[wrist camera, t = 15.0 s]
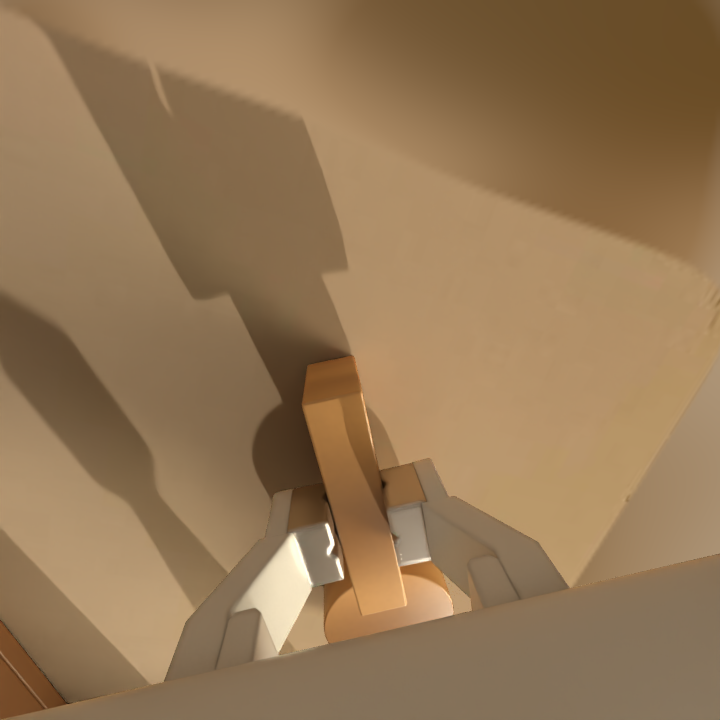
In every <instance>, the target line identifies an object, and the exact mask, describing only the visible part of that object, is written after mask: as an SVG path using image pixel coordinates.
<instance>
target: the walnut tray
mask: <svg viewBox="0 0 720 720" xmlns="http://www.w3.org/2000/svg"><path fill="white" fill-rule="evenodd" d="M62 705H66V702H65V701H64V700H63V698H62V697H61V696H60V695H59V693H58V692H57V691H56V690H55V688H54V687H53V686H52V685H51V683H50V682H49V681H48V680H47V678H46V677H45V676H44V674H43V673H42V672H41V671H40V669H39V668H38V667H37V666H36V664H35V663H34V662H33V661H32V659H31V658H30V657H29V656H28V654H27V653H26V652H25V650H24V649H23V648H22V647H21V645H20V644H19V643H18V642H17V640H16V639H15V638H14V637H13V635H12V634H11V633H10V632H9V630H8V629H7V628H6V626H5V625H4V624H3V623H2V621H1V620H0V720H1V719H6V718H10V717H14V716H19V715H23V714H27V713H32V712H36V711H40V710H45V709H49V708H53V707H58V706H62Z"/></svg>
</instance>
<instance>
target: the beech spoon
mask: <svg viewBox="0 0 720 720" xmlns="http://www.w3.org/2000/svg"><path fill="white" fill-rule="evenodd" d="M302 408H303V412H304V416H305V419H306V423H307V426H308V430H309V433H310V437H311V440H312V444H313V448H314V451H315V455H316V458H317V462H318V465H319V469H320V473H321V476H322V480H323V483H324V487H325V490H326V494H327V497H328V501H329V505H330V508H331V512H332V515H333V519H334V522H335V526H336V529H337V533H338V537H339V540H340V544H341V547H342V554H343V563H344V579H343V580H339V581H335V582H331V583H328V584H324V632H325V637H326V639H327V641H328V643H329V644H330V643H335V642H339V641H343V640H348V639H352V638H356V637H361V636H365V635H369V634H374V633H378V632H382V631H387V630H391V629H395V628H400V627H404V626H408V625H413V624H417V623H421V622H426V621H430V620H434V619H439V618H443V617H447V616H452V615H454V608H453V603H452V600H451V597H450V594H449V591H448V588H447V585H446V582H445V579H444V576H443V574H442V571H441V570H440V569H439V568H438V567H436V566H435V565H434V564H433V563H432V561H426V562H421V563H416V564H410V565H405V566H400V567H399V566H398V562H397V558H396V553H395V549H394V545H393V540H392V536H391V531H390V527H389V522H388V517H387V513H386V508H385V503H384V498H383V494H382V490H383V486H382V481H381V477H380V472H379V467H378V463H377V458H376V453H375V448H374V444H373V439H372V434H371V430H370V425H369V420H368V415H367V411H366V406H365V401H364V397H363V392H362V388H361V383H360V379H359V375H358V370H357V366H356V362H355V358H354V356H347V357H343V358H338V359H334V360H329V361H324V362H320V363H315V364H310V365H308V366H307V372H306V379H305V386H304V393H303V400H302Z"/></svg>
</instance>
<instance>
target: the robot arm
mask: <svg viewBox="0 0 720 720" xmlns="http://www.w3.org/2000/svg"><path fill="white" fill-rule="evenodd" d="M379 472H380V477H381V481H382V486H383V490H382V494H383V498H384V503H385V508H386V513H387V517H388V522H389V527H390V531H391V536H392V540H393V545H394V549H395V553H396V558H397V562H398V566H399V567H400V566H405V565H410V564H416V563H421V562H426V561H432V563H433V564H434V565H435V566H436V567H438V568H439V569H440V570H441V571H442V572H443V573H444V574H445V575H446V576H447V577H448V578H449V579H450V580H451V581H452V582H454V583H455V584H456V585H457V586H458V587H459V588H460V589H461V590H462V591H463V592H464V593H465V594H466V595H467V596H468V597H470V598H471V606H472V611H469V612H465V613H460V614H456V615H452V616H447V617H443V618H439V619H434V620H430V621H426V622H421V623H417V624H413V625H408V626H404V627H400V628H395V629H391V630H387V631H382V632H378V633H374V634H369V635H365V636H361V637H356V638H352V639H348V640H343V641H339V642H335V643H330V644H326V645H322V646H317V647H313V648H309V649H304V650H300V651H296V652H291V653H287V654H283V655H279V654H278V653H279V651H280V649H281V648H282V646H283V644H284V642H285V640H286V638H287V636H288V634H289V632H290V630H291V628H292V627H293V625H294V623H295V621H296V619H297V617H298V615H299V613H300V611H301V609H302V607H303V605H304V604H305V602H306V600H307V598H308V596H309V594H310V592H311V590H312V589H311V588H312V587H316V586H320V585H324V584H328V583H331V582H335V581H339V580H343V579H344V563H343V554H342V550H341V547H340V545H341V544H340V540H339V537H338V533H337V529H336V526H335V522H334V519H333V515H332V512H331V508H330V505H329V501H328V497H327V494H326V490H325V487H324V483H318V484H313V485H308V486H303V487H298V488H294V489H289V490H284V491H279V492H276V493H275V494H274V496H273V500H272V505H271V510H270V515H269V519H268V524H267V529H266V534H265V538H264V539H260V540H258V541H257V543H256V544H255V545H254V546H253V547H252V548H251V549H250V550H249V552H248V553H247V554H246V555H245V556H244V557H243V558H242V559H241V561H240V562H239V563H238V564H237V565H236V566H235V567H234V568H233V569H232V571H231V572H230V573H229V574H228V575H227V576H226V577H225V578H224V580H223V581H222V582H221V583H220V584H219V585H218V586H217V587H216V589H215V590H214V591H213V592H212V593H211V594H210V595H209V596H208V597H207V599H206V600H205V601H204V602H203V603H202V604H201V605H200V606H199V608H198V609H197V610H196V611H195V612H194V613H193V614H192V615H191V616H190V618H189V619H188V620H187V621H186V623H185V626H184V628H183V631H182V634H181V637H180V639H179V642H178V645H177V647H176V650H175V653H174V656H173V658H172V661H171V664H170V667H169V669H168V672H167V675H166V677H165V680H164V682H162V683H157V684H153V685H149V686H144V687H140V688H136V689H131V690H127V691H123V692H118V693H114V694H110V695H105V696H101V697H97V698H92V699H88V700H84V701H79V702H75V703H71V704H66V705H62V706H58V707H53V708H49V709H45V710H40V711H36V712H32V713H27V714H23V715H19V716H14V717H10V718H6V719H1V720H720V554H716V555H712V556H707V557H703V558H699V559H694V560H690V561H686V562H681V563H677V564H673V565H669V566H664V567H660V568H656V569H651V570H647V571H642V572H638V573H634V574H629V575H625V576H621V577H617V578H612V579H608V580H604V581H599V582H595V583H590V584H586V585H582V586H578V587H573V588H569V586H568V585H567V583H566V582H565V581H564V579H563V578H562V576H561V575H560V573H559V572H558V570H557V569H556V567H555V566H554V565H553V563H552V562H551V560H550V559H549V557H548V556H547V554H546V553H545V552H544V550H543V549H542V547H541V546H540V544H539V543H538V542H537V541H535V540H533V539H532V538H530V537H528V536H526V535H524V534H523V533H521V532H519V531H517V530H515V529H513V528H512V527H510V526H508V525H506V524H504V523H503V522H501V521H499V520H497V519H495V518H494V517H492V516H490V515H488V514H486V513H485V512H483V511H481V510H479V509H477V508H476V507H474V506H472V505H470V504H468V503H467V502H465V501H463V500H461V499H459V498H457V497H456V496H451V497H449V496H448V494H447V491H446V489H445V487H444V485H443V483H442V481H441V479H440V477H439V475H438V472H437V470H436V468H435V466H434V464H433V462H432V460H431V459H430V458H427V459H423V460H419V461H415V462H412V463H410V464H405V465H401V466H397V467H392V468H388V469H383V470H379Z"/></svg>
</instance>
